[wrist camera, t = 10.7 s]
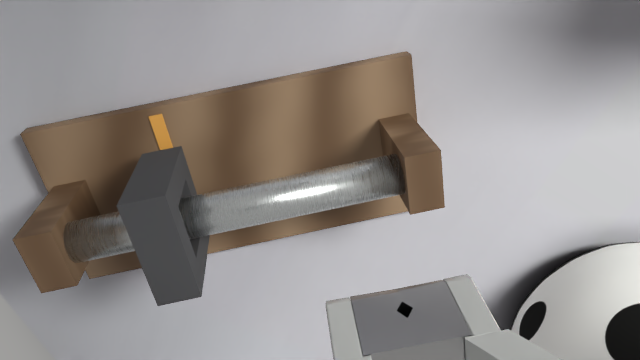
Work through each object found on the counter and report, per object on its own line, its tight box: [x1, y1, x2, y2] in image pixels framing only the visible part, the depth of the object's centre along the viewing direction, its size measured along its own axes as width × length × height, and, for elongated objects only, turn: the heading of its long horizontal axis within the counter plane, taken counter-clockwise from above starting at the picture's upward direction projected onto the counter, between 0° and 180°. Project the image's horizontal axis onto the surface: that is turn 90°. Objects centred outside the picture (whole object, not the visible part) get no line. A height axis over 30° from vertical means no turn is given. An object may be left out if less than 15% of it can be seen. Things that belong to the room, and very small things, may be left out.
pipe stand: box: [13, 51, 445, 293], centre depth 31 cm, size 24×11×7 cm, turn 100°
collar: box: [117, 146, 210, 306], centre depth 29 cm, size 2×6×6 cm, turn 10°
